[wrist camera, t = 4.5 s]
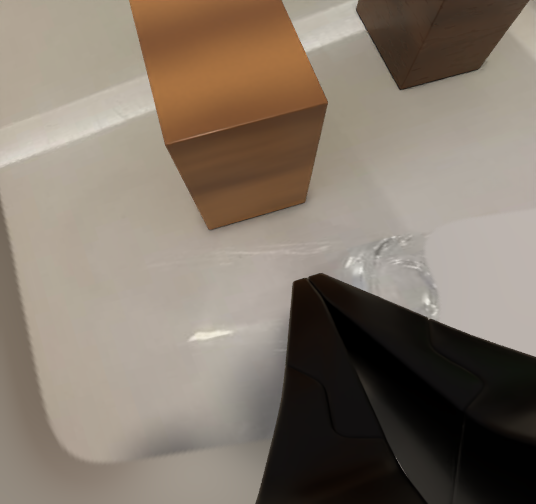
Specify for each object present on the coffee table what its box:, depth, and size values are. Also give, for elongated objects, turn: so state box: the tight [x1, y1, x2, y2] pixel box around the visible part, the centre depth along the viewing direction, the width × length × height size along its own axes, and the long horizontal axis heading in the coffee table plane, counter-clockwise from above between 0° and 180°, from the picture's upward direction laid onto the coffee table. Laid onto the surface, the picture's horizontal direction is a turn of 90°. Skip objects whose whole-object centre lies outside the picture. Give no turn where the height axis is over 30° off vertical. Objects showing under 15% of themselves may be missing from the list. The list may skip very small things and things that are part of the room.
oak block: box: [129, 0, 328, 230], centre depth 16 cm, size 8×6×8 cm
